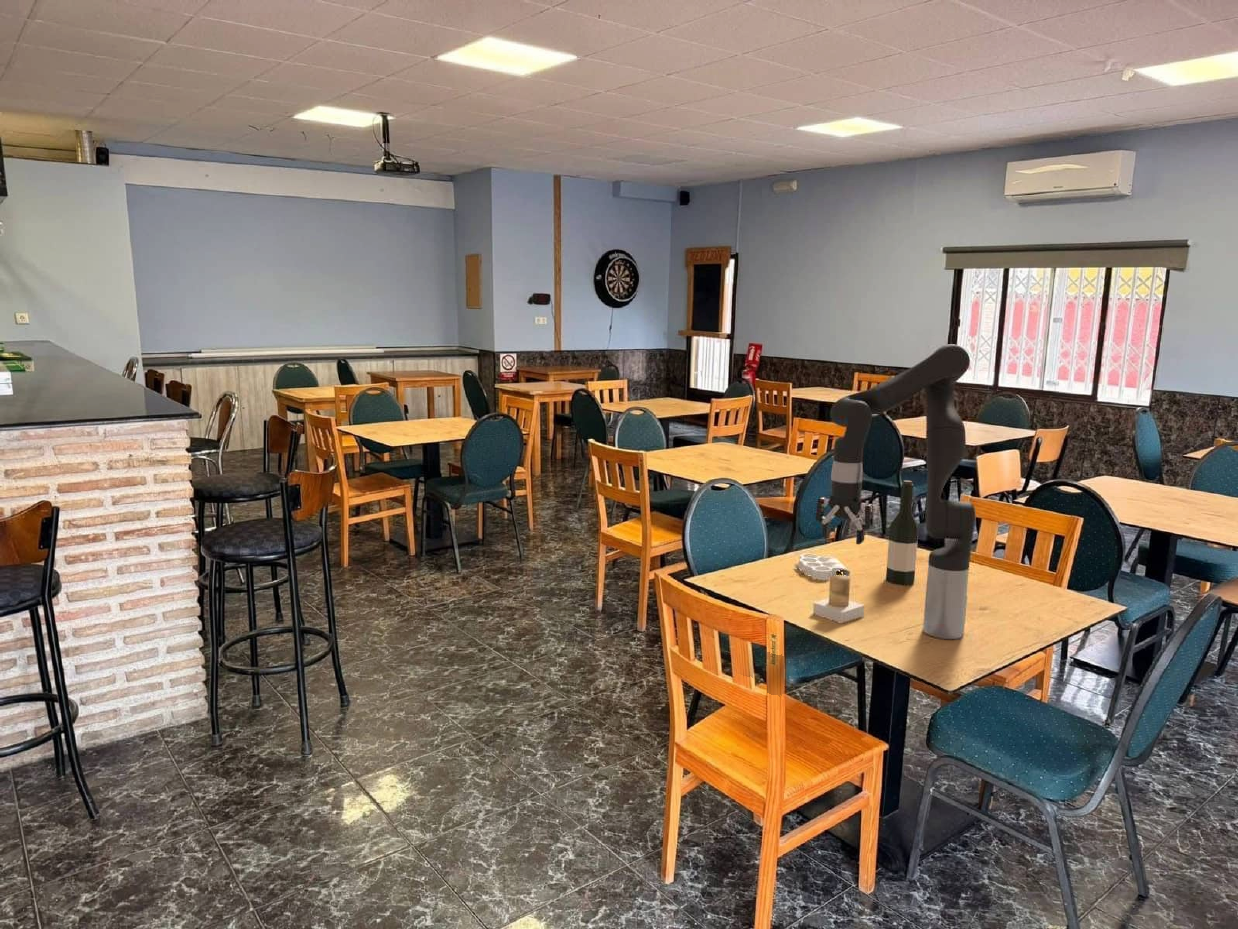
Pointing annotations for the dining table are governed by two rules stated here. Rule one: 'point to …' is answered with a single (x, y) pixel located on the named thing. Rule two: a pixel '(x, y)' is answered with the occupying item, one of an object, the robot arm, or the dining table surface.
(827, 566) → the white holed flat part
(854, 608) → the white base
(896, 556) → the wine bottle
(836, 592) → the ochre cylinder
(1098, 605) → the dining table surface
